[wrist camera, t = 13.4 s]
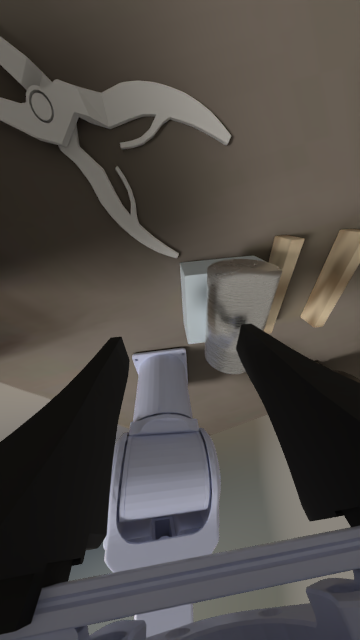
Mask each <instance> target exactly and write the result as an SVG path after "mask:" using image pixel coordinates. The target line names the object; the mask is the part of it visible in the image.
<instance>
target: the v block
mask: <svg viewBox="0 0 360 640" xmlns="http://www.w3.org/2000/svg"><path fill="white" fill-rule="evenodd" d="M230 259H252V260H260V261H264V260H262V259H260V258H258V257H256V256H254V255H252V256H242V257H232V258H222V259H212V260H202V261H192V262H182V263H180V274H181V289H182V304H183V318H184V327H185V331H186V336H187V341H188V344H194V343H202V342H205V326H206V295H207V269H208V267H209V266H210V265H211V264H213V263H215V262H219V261H223V260H230ZM265 262H266V261H265Z"/></svg>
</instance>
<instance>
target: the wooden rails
mask: <svg viewBox="0 0 360 640" xmlns="http://www.w3.org/2000/svg"><path fill="white" fill-rule="evenodd" d="M303 242H304V238H299V237H294V236H289V235H280V236H275V238H274V242H273V246H272V250H271V254H270V258H269V263H272V264H274V265H276V266H278V267H279V268H280V269H281V270H282V274H281V278H280V281H279V284H278V287H277V290H276V294H275V297H274V300H273V303H272V306H271V310H270V313H269V316H268V319H267V322H266V325H265V329H264V332H266V333H272V330H273V327H274V324H275V321H276V319H277V316H278V313H279V310H280V307H281V304H282V302H283V299H284V296H285V293H286V290H287V287H288V285H289V282H290V279H291V276H292V273H293V270H294V268H295V265H296V262H297V259H298V256H299V254H300V251H301V248H302V245H303ZM359 263H360V230H358V229H343V230H340V231H339V233H338V236H337V238H336V240H335V242H334V244H333V246H332V249H331V251H330V253H329V255H328V257H327V260H326V262H325V264H324V266H323V268H322V271H321V273H320V275H319V277H318V279H317V281H316V284H315V286H314V288H313V290H312V292H311V295H310V297H309V299H308V301H307V303H306V305H305V308H304V310H303V312H302V314H301V316H300V317H301V318H302V319H304V320H305V321H306V322H308V323H309V324H310V325H311V326H313V327H322V326H323V325H324V323H325V322H326V320H327V318H328V316H329V315H330V313H331V311H332V310H333V308H334V306H335V304H336V303H337V301H338V299H339V298H340V296H341V294H342V292H343V291H344V289H345V287H346V286H347V284H348V282H349V280H350V279H351V277H352V275H353V274H354V272H355V270H356V268H357V267H358V265H359Z"/></svg>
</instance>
